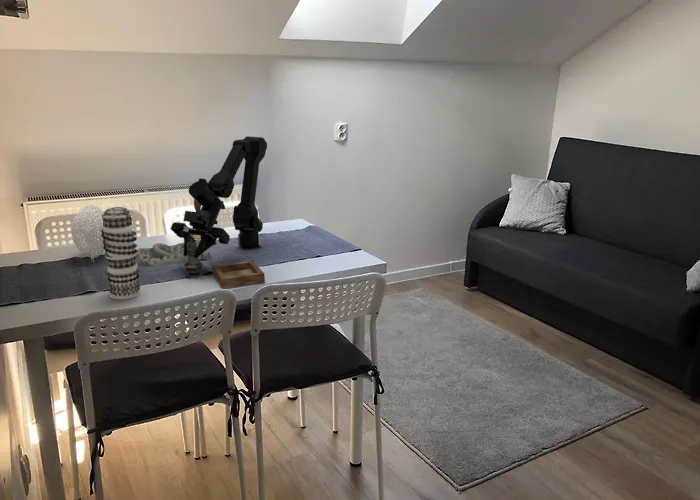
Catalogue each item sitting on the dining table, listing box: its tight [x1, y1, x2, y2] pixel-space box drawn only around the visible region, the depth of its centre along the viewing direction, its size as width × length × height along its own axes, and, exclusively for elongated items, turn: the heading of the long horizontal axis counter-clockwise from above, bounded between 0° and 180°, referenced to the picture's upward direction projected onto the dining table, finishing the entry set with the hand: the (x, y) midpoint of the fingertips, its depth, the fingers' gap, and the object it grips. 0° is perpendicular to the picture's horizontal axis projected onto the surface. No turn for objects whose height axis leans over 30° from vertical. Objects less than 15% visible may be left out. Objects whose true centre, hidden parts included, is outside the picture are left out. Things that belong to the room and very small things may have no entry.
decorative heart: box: [70, 204, 105, 263], centre depth 201 cm, size 18×11×17 cm, turn 13°
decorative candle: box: [100, 206, 142, 300], centre depth 170 cm, size 9×9×25 cm
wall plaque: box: [136, 239, 212, 267], centre depth 207 cm, size 24×19×4 cm
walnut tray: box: [211, 260, 266, 289], centre depth 186 cm, size 13×13×3 cm
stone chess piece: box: [183, 239, 204, 279], centre depth 187 cm, size 6×6×12 cm
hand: (189, 256), depth 185 cm, fingers closed on stone chess piece, 3 cm apart
